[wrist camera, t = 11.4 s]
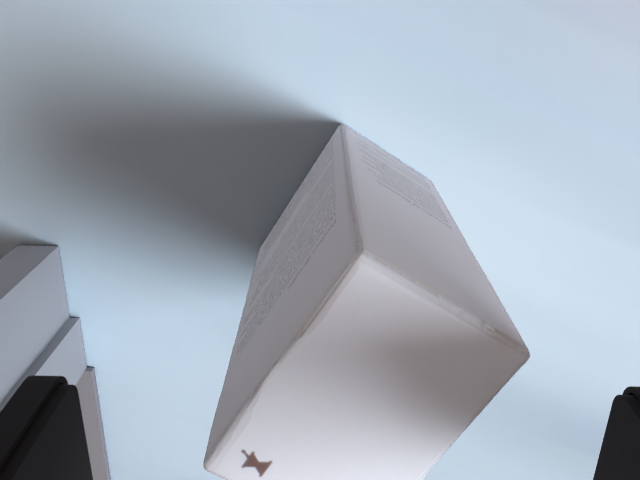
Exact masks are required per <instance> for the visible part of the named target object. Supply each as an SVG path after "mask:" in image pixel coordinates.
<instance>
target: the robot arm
mask: <svg viewBox="0 0 640 480" xmlns="http://www.w3.org/2000/svg"><path fill="white" fill-rule="evenodd" d="M0 480H93V476H92V470H91V464H90V458H89V452H88V447H87V441H86V435H85V429H84V423H83V417H82V411H81V406H80V400H79V394H78V390H77V387H76V386H75V385H68V381H67V379H66V378H65V377H63V376H37V375H31V376H28V377H27V378H26V379H25V380H24V381H23V382H22V384H21V385H20V386H19V388H18V389H17V390H16V392H15V393H14V394H13V396H12V397H11V398H10V400H9V401H8V402H7V404H6V405H5V406H4V408H3V409H2V410H1V412H0ZM593 480H640V387H628V388H626V389H625V390H624V392H623V395H617V396H616V397H615V398H614V400H613V404H612V407H611V411H610V415H609V419H608V423H607V427H606V431H605V435H604V439H603V443H602V447H601V451H600V455H599V459H598V463H597V467H596V471H595V474H594V478H593Z"/></svg>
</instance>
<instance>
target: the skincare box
mask: <svg viewBox="0 0 640 480" xmlns="http://www.w3.org/2000/svg"><path fill="white" fill-rule="evenodd" d="M529 357H530V353H529V351H528V348H527V347H526V345H525V343H524V342H523V340H522V338H521V336H520V334H519V332H518V330H517V329H516V327H515V325H514V324H513V322H512V320H511V319H510V317H509V315H508V314H507V312H506V310H505V308H504V307H503V305H502V303H501V301H500V300H499V298H498V296H497V294H496V293H495V291H494V289H493V287H492V285H491V283H490V282H489V280H488V279H487V277H486V275H485V273H484V272H483V270H482V268H481V266H480V265H479V263H478V261H477V260H476V258H475V256H474V255H473V253H472V251H471V249H470V247H469V246H468V244H467V242H466V240H465V239H464V237H463V235H462V233H461V232H460V230H459V228H458V226H457V225H456V223H455V221H454V219H453V218H452V216H451V214H450V212H449V211H448V209H447V207H446V205H445V203H444V202H443V200H442V198H441V197H440V195H439V193H438V191H437V190H436V188H435V186H434V184H433V183H432V181H431V180H429V179H428V178H427V177H425V176H423V175H422V174H420V173H418V172H417V171H415V170H414V169H412V168H410V167H409V166H407V165H406V164H404V163H403V162H401V161H400V160H398V159H397V158H395V157H394V156H392V155H391V154H389V153H388V152H386V151H385V150H383V149H382V148H380V147H379V146H377V145H376V144H374V143H373V142H371V141H370V140H368V139H366V138H365V137H363V136H362V135H360V134H359V133H357V132H356V131H354V130H352V129H351V128H349V127H348V126H346V125H344V124H341V125H339V126H338V128H337V129H336V131H335V132H334V134H333V135H332V137H331V138H330V140H329V142H328V143H327V145H326V146H325V148H324V149H323V151H322V152H321V154H320V155H319V157H318V159H317V160H316V162H315V163H314V165H313V166H312V168H311V170H310V171H309V173H308V174H307V176H306V177H305V179H304V180H303V182H302V183H301V185H300V186H299V188H298V190H297V191H296V193H295V194H294V196H293V197H292V199H291V200H290V202H289V204H288V205H287V207H286V208H285V210H284V211H283V213H282V214H281V216H280V218H279V219H278V221H277V222H276V224H275V225H274V227H273V229H272V230H271V232H270V233H269V235H268V236H267V238H266V239H265V241H264V243H263V244H262V246H261V247H260V249H259V252H258V256H257V260H256V264H255V267H254V271H253V274H252V278H251V282H250V286H249V290H248V293H247V297H246V302H245V306H244V309H243V313H242V317H241V321H240V324H239V328H238V332H237V336H236V340H235V343H234V346H233V350H232V354H231V358H230V362H229V366H228V370H227V374H226V377H225V381H224V385H223V389H222V392H221V395H220V399H219V402H218V405H217V409H216V412H215V416H214V421H213V425H212V428H211V432H210V437H209V441H208V446H207V450H206V454H205V458H204V468H205V470H206V471H208V472H210V473H213V474H215V475H217V476H219V477H221V478H223V479H226V480H422V479H423V478H424V477H425V476H426V474H427V473H428V472H429V471H430V470H431V469H432V467H433V466H434V465H435V464H436V463H437V462H438V461H439V459H440V458H441V457H442V456H443V455H444V454H445V452H446V451H447V450H448V449H449V448H450V447H451V445H452V444H453V443H454V442H455V441H456V440H457V438H458V437H459V436H460V435H461V434H462V433H463V432H464V430H465V429H466V428H467V427H468V426H469V425H470V424H471V423H472V422H473V420H474V419H475V418H476V417H477V416H478V415H479V414H480V413H481V411H482V410H483V409H484V408H485V407H486V406H487V405H488V403H489V402H490V401H491V400H492V399H493V398H494V396H495V395H496V394H497V393H498V392H499V391H500V389H501V388H502V387H503V386H504V385H505V384H506V383H507V382H508V381H509V380H510V379H511V377H512V376H513V375H514V374H515V373H516V372H517V371H518V370H519V369H520V368H521V367H522V366H523V365H524V364H525V362H526V361H527V360H528V359H529Z"/></svg>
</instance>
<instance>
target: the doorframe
mask: <svg viewBox="0 0 640 480" xmlns="http://www.w3.org/2000/svg"><path fill="white" fill-rule="evenodd" d="M31 375H37V376H63V377H65V378H66V379H67V381H68V385H75V386H76V387H77V390H78V394H79V400H80V406H81V411H82V417H83V423H84V429H85V435H86V441H87V447H88V452H89V458H90V464H91V470H92V476H93V480H111V479H110V472H109V466H108V459H107V452H106V445H105V438H104V431H103V425H102V418H101V411H100V404H99V397H98V390H97V384H96V377H95V370H94V367H87V363H86V357H85V350H84V343H83V337H82V330H81V324H80V318H70V315H69V308H68V302H67V296H66V289H65V283H64V277H63V271H62V264H61V258H60V252H59V246H37V245H17V246H16V247H15V248H14V249H13V250H11V251H10V252H9V253H8V254H6V255H5V256H4V257H3V258H1V259H0V412H1V410H2V409H3V408H4V406H5V405H6V404H7V402H8V401H9V400H10V398H11V397H12V396H13V394H14V393H15V392H16V390H17V389H18V388H19V386H20V385H21V384H22V382H23V381H24V380H25V379H26V378H27V377H28V376H31Z"/></svg>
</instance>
